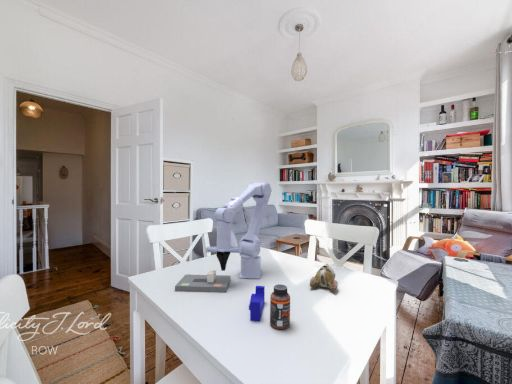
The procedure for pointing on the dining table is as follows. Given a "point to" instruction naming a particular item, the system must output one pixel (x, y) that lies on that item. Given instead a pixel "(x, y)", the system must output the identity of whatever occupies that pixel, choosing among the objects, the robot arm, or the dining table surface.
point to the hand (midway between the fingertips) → (223, 269)
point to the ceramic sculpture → (324, 278)
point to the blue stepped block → (257, 303)
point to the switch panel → (203, 283)
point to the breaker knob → (211, 275)
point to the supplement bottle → (280, 307)
